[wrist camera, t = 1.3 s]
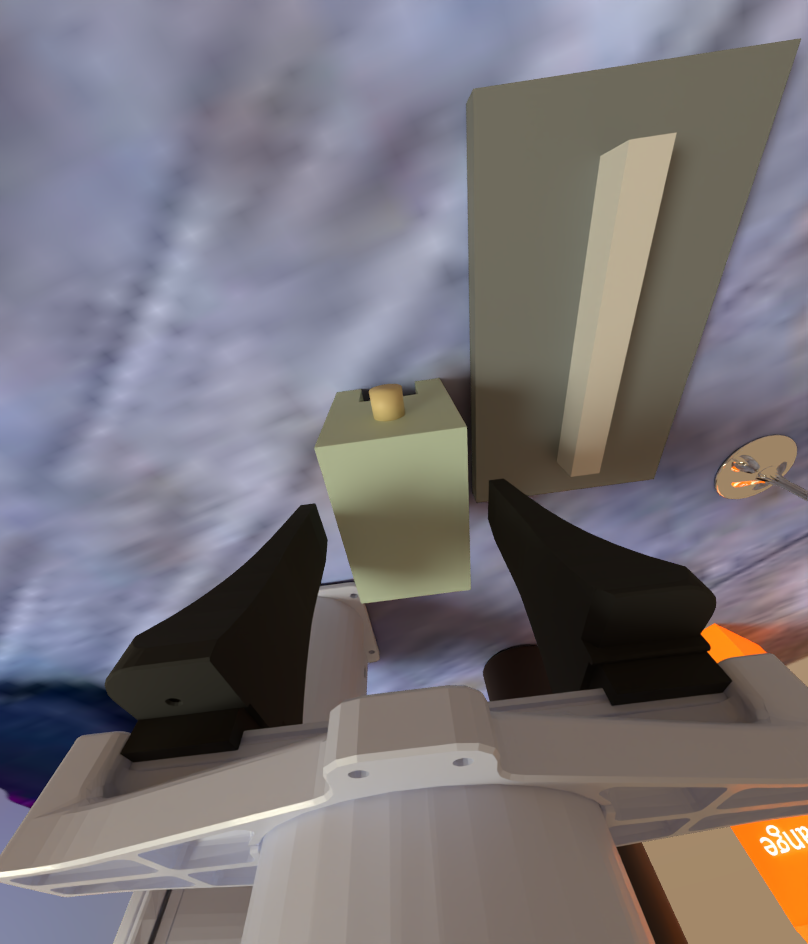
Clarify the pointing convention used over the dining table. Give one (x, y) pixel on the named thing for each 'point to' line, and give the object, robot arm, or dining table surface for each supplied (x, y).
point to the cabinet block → (399, 489)
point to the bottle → (527, 677)
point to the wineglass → (758, 468)
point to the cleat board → (602, 255)
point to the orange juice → (774, 841)
